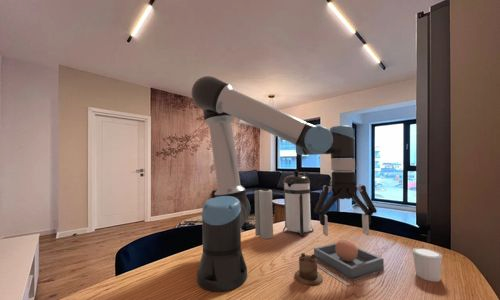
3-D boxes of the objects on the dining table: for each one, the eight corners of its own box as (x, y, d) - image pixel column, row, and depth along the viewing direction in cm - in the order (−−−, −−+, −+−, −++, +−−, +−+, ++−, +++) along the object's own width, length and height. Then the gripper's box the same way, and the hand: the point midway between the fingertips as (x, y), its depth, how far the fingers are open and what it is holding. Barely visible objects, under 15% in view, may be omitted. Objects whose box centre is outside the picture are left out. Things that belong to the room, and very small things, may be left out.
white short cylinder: (446, 285, 58) (444, 259, 59) (414, 278, 62) (413, 254, 62) (440, 273, 64) (439, 250, 65) (412, 268, 68) (410, 245, 68)
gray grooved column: (275, 236, 98) (274, 189, 99) (267, 240, 94) (266, 191, 95) (263, 233, 103) (262, 188, 104) (255, 236, 99) (254, 190, 100)
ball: (342, 268, 71) (349, 260, 66) (328, 249, 76) (333, 240, 71) (358, 259, 73) (365, 250, 68) (343, 240, 78) (349, 231, 73)
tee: (306, 288, 58) (305, 265, 59) (289, 274, 66) (288, 253, 66) (328, 281, 62) (327, 259, 62) (310, 268, 69) (309, 249, 69)
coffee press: (320, 237, 96) (318, 170, 98) (285, 237, 96) (283, 171, 98) (310, 225, 114) (308, 168, 115) (280, 225, 114) (278, 169, 115)
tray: (352, 281, 61) (351, 268, 62) (314, 258, 76) (313, 248, 76) (383, 269, 67) (383, 258, 67) (342, 250, 82) (342, 241, 82)
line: (347, 285, 59) (347, 285, 59) (301, 256, 77) (301, 256, 77) (350, 284, 60) (350, 283, 60) (304, 256, 78) (304, 255, 78)
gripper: (373, 169, 77) (376, 229, 76) (304, 171, 77) (305, 231, 76) (386, 171, 69) (390, 237, 68) (309, 172, 69) (311, 238, 68)
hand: (345, 234), depth 72 cm, fingers open, 13 cm apart
